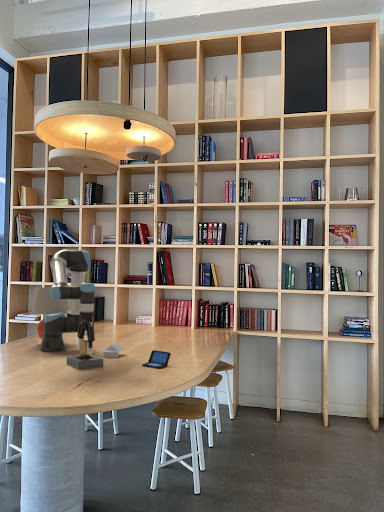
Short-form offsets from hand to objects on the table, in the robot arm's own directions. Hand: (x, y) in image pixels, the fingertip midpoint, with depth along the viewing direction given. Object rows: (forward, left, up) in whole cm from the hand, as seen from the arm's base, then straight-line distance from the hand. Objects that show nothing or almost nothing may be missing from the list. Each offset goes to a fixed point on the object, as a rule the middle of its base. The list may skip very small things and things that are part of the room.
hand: (85, 352), depth 226 cm
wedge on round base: (-16, +25, -7) cm, 30 cm away
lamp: (-74, +7, -7) cm, 75 cm away
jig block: (0, 0, -7) cm, 7 cm away
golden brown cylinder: (0, 0, -6) cm, 6 cm away
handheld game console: (+22, +32, -7) cm, 39 cm away
